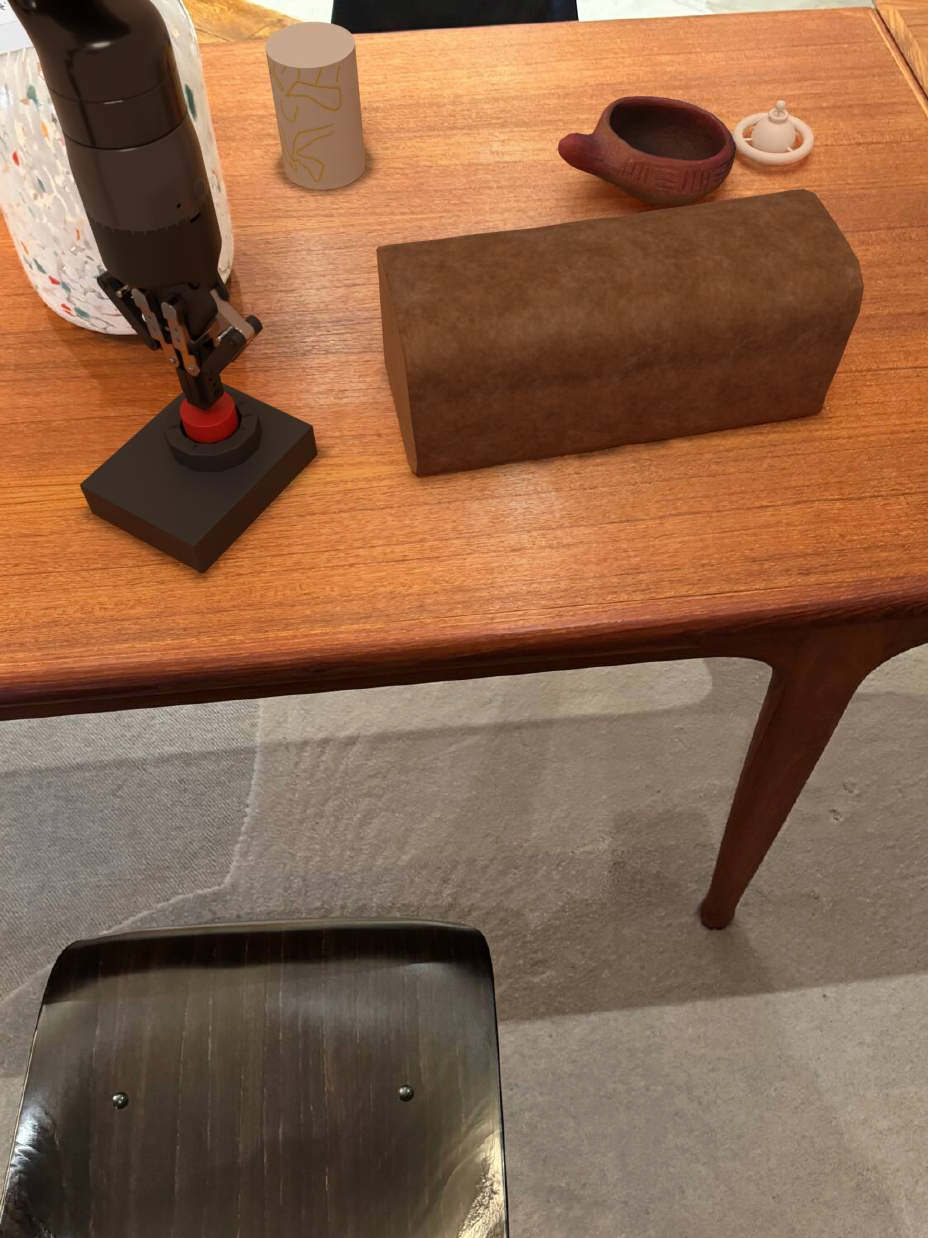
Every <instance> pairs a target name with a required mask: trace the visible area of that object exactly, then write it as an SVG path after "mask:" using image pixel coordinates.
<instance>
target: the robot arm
mask: <svg viewBox="0 0 928 1238" xmlns="http://www.w3.org/2000/svg"><path fill="white" fill-rule="evenodd" d="M6 1H7V3H8V4H9V6H10V8H11V10H12V12H13V13H14V15H15V16H16V18H17V20H18V21H19V23H20V25H21V26H22V28H23V29H24V31H25V33H26V35H27V36H28V38H29V40H30V42H31V44H32V46H33V48H34V51H35V54H36V55H37V57H38V61H39V64H40V68H41V72H42V75H43V79H44V81H45V85H46V88H47V90H48V94H49V97H50V99H51V103H52V105H53V108H54V112H55V114H56V117H57V120H58V123H59V126H60V128H61V132H62V135H63V140H64V145H65V150H66V154H67V159H68V164H69V165H68V166H69V169H70V171H71V174H72V178H73V180H74V183H75V186H76V189H77V192H78V195H79V198H80V200H81V203H82V206H83V209H84V213H85V215H86V218H87V221H88V223H89V228H90V229H91V232H92V235H93V239H94V241H95V244H96V247H97V250H98V253H99V255H100V258H101V261H102V264H103V266H104V268H105V269H106V270H105V271H104V272H102V273H101V274H99V276H97V277H96V283H97V286H98V287H99V288H100V289H101V290H102V292H103V293H104V294H105V296H106V297H107V298H108V299H109V300H110V302H111V303H112V304H113V306H114V307H115V308H116V309H117V311H118V312H119V313H120V314H121V316H123V318H124V320H126V322H127V323H128V324H129V325H130V327H131V328H132V330H134V331H135V333H136V334H137V336H138V337H139V338H140V339H141V340H142V341H143V343H144V344H145V345H146V346H147V348H148V349H149V350H151V351H153V352H157V351H158V350H159V349H160V350H161V351H162V352H163V354H164V356H165V359H166V361H167V362H168V364H169V365H171V367H173V368H174V369H175V372H176V375H177V378H178V382H179V385H180V388H181V390H182V392H184V393H185V396H186V399H187V402H188V403H189V404H191V405H193V406H195V407H197V408H199V409H201V410H203V411H207V410H208V409H209V408H210V407H211V406H212V405H213V404H214V403H216V402H217V401H218V400H219V399H220V398H221V397H222V396H223V394H224V389H223V386H222V383H223V382H222V377H221V373H222V372H223V371H224V370H225V369H226V368H227V367H228V366H229V365H231V364H232V363H234V362H235V361H236V360H237V359H238V358H239V357H240V356H241V355H242V353H244V352H245V350H246V349H247V348H248V346H249V345H250V344H251V343H252V342H253V341H254V340H255V338H257V336H258V335H259V334H260V333H261V332H262V330H263V324H262V322H261V320H260V319H259V318H258V317H257V316H256V315H253V314H248V316H247V317H245V318H244V317H242V315H240V314H239V312H238V311H237V310H236V309H235V308H234V307H233V306H232V305H231V304H230V303H229V302H230V292H229V288H228V287H227V285H226V283H225V282H224V280H223V278H222V276H221V274H220V272H219V264H220V263H219V262H220V259H221V258H220V257H221V254H222V253H221V252H222V247H223V237H222V234H221V229H220V224H219V220H218V216H217V212H216V211H217V210H216V207H215V203H214V198H213V194H212V189H211V185H210V181H209V177H208V173H207V168H206V164H205V160H204V156H203V155H204V154H203V151H202V147H201V144H200V140H199V136H198V134H197V131H196V129H195V126H194V123H193V121H192V118H191V115H190V112H189V109H188V106H187V102H186V98H185V94H184V90H183V89H184V88H183V85H182V81H181V77H180V72H179V69H178V64H177V60H176V55H175V51H174V46H173V43H172V39H171V36H170V32H169V29H168V27H167V24H166V22H165V20H164V17H163V16H162V14H161V13H160V11H159V9H158V7H157V6H156V5H155V4H154V3H153V1H152V0H6Z"/></svg>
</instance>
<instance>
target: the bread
mask: <svg viewBox="0 0 928 1238" xmlns="http://www.w3.org/2000/svg"><path fill="white" fill-rule="evenodd" d="M375 253H376V263H377V274H378V275H377V276H378V290H379V304H380V305H379V306H380V317H381V331H382V333H381V334H382V348H383V357H384V358H383V359H384V366H385V371H386V375H387V379H388V383H389V387H390V391H391V395H392V399H393V403H394V408H395V412H396V416H397V420H398V424H399V428H400V433H401V437H402V442H403V446H404V450H405V455H406V459H407V463H408V466H409V467H410V468H411V470H412V471H413V472H414V473H415V475H416V476H418V477H426V476H427V477H428V476H433V475H441V474H449V473H455V472H462V471H469V470H475V469H480V468H482V469H483V468H486V467H493V466H498V465H505V464H511V463H518V462H522V461H528V460H529V461H530V460H536V459H544V458H551V457H556V456H557V457H558V456H565V455H570V454H571V455H572V454H577V453H578V454H579V453H583V452H584V453H585V452H590V451H597V450H602V449H607V448H612V447H618V446H623V445H631V444H632V445H633V444H639V443H647V442H655V441H660V440H666V439H672V438H673V439H674V438H679V437H684V436H685V437H686V436H690V435H697V434H703V433H707V432H713V431H718V430H719V431H720V430H725V429H731V428H736V427H737V428H739V427H745V426H751V425H758V424H764V423H770V422H777V421H783V420H789V419H794V418H799V417H804V416H808V415H813V414H819V413H822V410H823V408H824V406H825V405H824V404H825V401H826V397H827V394H828V391H829V389H830V387H831V384H832V382H833V379H834V377H835V375H836V373H837V370H838V368H839V365H840V363H841V361H842V359H843V356H844V353H845V351H846V348H847V346H848V342H849V339H850V337H851V334H852V332H853V330H854V327H855V324H856V322H857V320H858V318H859V315H860V313H861V308H862V303H863V295H864V289H865V284H864V280H863V275H862V269H861V263H860V261H859V259H858V257H857V255H856V253H855V252H854V250H853V249H852V246H851V245H850V243H849V241H848V240H847V238H846V237H845V234H843V232H842V230H841V229H840V227H839V226H838V224H837V222H836V221H835V220H834V218H833V217H832V216H831V213H830V212H829V211H828V210H827V208H826V206H825V205H824V203H822V201H821V200H820V198H819V196H818V195H817V194H816V193H815V192H813V191H810V190H808V189H805V188H800V189H799V188H798V189H789V190H783V191H777V192H772V193H765V194H759V195H752V196H746V197H738V198H731V199H723V200H722V199H721V200H715V201H709V202H705V203H703V202H702V203H699V204H692V205H684V206H678V207H667V208H660V209H655V210H654V209H653V210H649V211H642V212H637V213H632V214H626V215H618V216H616V215H615V216H606V217H597V218H589V219H582V220H576V221H568V222H562V223H556V224H555V223H554V224H549V225H543V226H536V227H530V228H520V229H519V228H518V229H509V230H500V231H499V230H498V231H489V232H481V233H471V234H463V235H457V236H451V237H444V238H436V239H427V240H418V241H408V242H401V243H400V242H399V243H391V244H385V245H379V246H377V247H376V251H375Z"/></svg>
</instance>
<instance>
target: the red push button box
mask: <svg viewBox="0 0 928 1238" xmlns="http://www.w3.org/2000/svg"><path fill="white" fill-rule="evenodd" d="M222 386H223V389H224V392H226V393H227V394H229V395H230V396H231V398H232V399H233V401H234V405H235V409H236V413H237V417H238V425H237V428H236V430H235V431H234V433H233V434H232V435H230V436H229V437H228V438H226V439H224V440H222V441H219V442H215V443H201V442H197V441H195V440H193V439H191V438H190V437H189V436H188V435H187V433H186V431H185V429H184V425H183V422H182V419H181V416H180V407H181V404H182V402H183V401H184V400H185V399H186V396H185V393H184V392H183V391H182V392H180V393H179V394H178V395H177V396H176V397H175V398H174V399H173V400H171V401H170V402H169V403H168V404H167V405H166V406H164V408H163V409H162V410H160V411H159V412H158V413H157V414H156V415H155V416H154V417H153V418H151V420H149V421H148V422H147V423H146V424H145V425H144V426H143V427H141V429H140V430H138V431H137V432H136V433H135V434H134V435H133V436H131V438H129V439H128V440H127V441H126V442H125V443H124V444H123V445H122V446H120V447H119V448H118V450H116V451H115V452H114V453H113V454H112V455H110V457H109V458H107V459H106V460H105V461H103V463H102V464H101V465H100V466H99V467H97V468H96V469H95V470H94V471H93V472H92V473H90V475H88V476H87V477H86V478H85V479H84V480H83V481H81V482H80V484H79V488H80V490H81V492H82V494H83V496H84V499H85V501H86V503H87V505H88V508H89V509H90V511H91V513H92V514H93V515H95V516H97V517H99V518H101V519H103V520H104V521H106V522H108V523H110V524H112V525H113V526H115V527H117V528H119V529H121V530H122V531H124V532H126V533H128V534H130V535H131V536H133V537H135V538H137V539H139V540H141V541H143V542H144V543H146V544H148V545H149V546H152V547H153V548H155V549H157V550H158V551H160V552H162V553H164V554H166V555H167V556H169V557H172V558H173V559H175V560H177V561H179V562H181V563H182V564H184V565H186V566H188V567H190V568H191V569H193V570H195V571H197V572H199V574H205V573H206V571H207V570H208V569H209V568H210V567H211V566H212V565H213V564H214V563H215V562H216V561H217V560H218V559H219V558H220V557H221V555H223V554H224V553H225V552H226V550H227V549H229V547H230V546H231V545H232V544H233V543H234V542H235V541H236V540H237V539H238V538H239V537H240V536H241V535H242V534H243V533H244V532H245V531H246V530H247V529H248V527H249V526H250V525H251V524H253V522H254V521H256V519H257V518H258V517H259V516H260V515H261V514H262V513H263V512H264V511H266V509H267V508H268V507H269V506H270V505H271V504H272V503H273V501H274V500H275V499H277V497H278V496H279V495H280V494H282V492H283V491H284V490H285V489H286V488H287V487H288V486H289V485H290V484H291V483H292V482H293V481H294V480H295V479H296V478H297V477H298V476H299V475H300V474H301V472H302V471H303V470H304V469H305V468H306V467H307V466H308V465H309V464H310V463H311V462H312V461H313V460H314V459H315V458H316V457H317V456H318V454H319V453H318V448H317V443H316V442H317V441H316V436H315V430H314V425H313V424H311V423H308V422H307V421H304V420H302V419H300V418H298V417H295V416H293V415H291V414H290V413H287V412H285V411H284V410H282V409H279V408H277V407H275V406H273V405H270V404H269V403H266V402H264V401H262V400H260V399H258V398H255V397H253V396H252V395H250V394H247V393H245V392H243V391H241V390H238V389H236V388H235V387H232V386H231V385H228V384H226V383H224V382H222Z"/></svg>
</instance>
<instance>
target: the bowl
mask: <svg viewBox="0 0 928 1238" xmlns="http://www.w3.org/2000/svg"><path fill="white" fill-rule="evenodd" d="M557 151H558V154H559V156H560V158H561V159H563V161H564V162H565V163H567V164H568V165H569V166H570V167H572V168H574V169H577V170H579V171H581V172H584V173H586V174H589V175H591V176H595V177H597V178H599V179H601V180H603V181H606V182H607V183H610V184H611V185H613V186H615V187H617V188H618V189H619V190H621V192H624V193H625V194H627V195H629V196H631V197H633V198H635V199H637V200H639V201H641V202H644V203H647V204H650V205H654V206H659V207H665V208H677V207H685V206H689V205H690V204H694V203H696V202H699V201H700V200H703V199H705V198H707V197H708V196H709V195H711V194H712V193H714V192H715V191H716V190H718V188H720V187H721V185H722V184H723V183H724V182H725V180H726V179H727V177H729V175H730V173H731V171H732V169H733V167H734V166H733V165H734V162H735V159H736V155H737V149H736V142H735V141H734V140H733V137H732V132H731V131H730V130H729V128H728V127H727V126H726V124H725V123H724V122H723V121H722V120H720V119H719V118H718V117H717V115H715V114H714V113H712V112H710V111H708V110H706V109H704V108H702V107H699V106H698V105H696V104H693V103H689V102H686V101H683V100H681V99H680V100H679V99H675V98H670V97H663V96H662V97H660V96H652V95H632V96H623V97H621V98H618V99H615V100H613V101H612V102H610V103H609V104H608V105H607V106H606V107H605V108H604V109H603V111H602V112H601V114H600V116H599V118H598V122H597V124H596V127H595V128H594V129H593V131H592V132H591V133H589V134H586V133H580V132H571V133H570V132H569V133H568V134H566V135H565V136H564V137H563V138H560V140H559V141H558V144H557Z"/></svg>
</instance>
